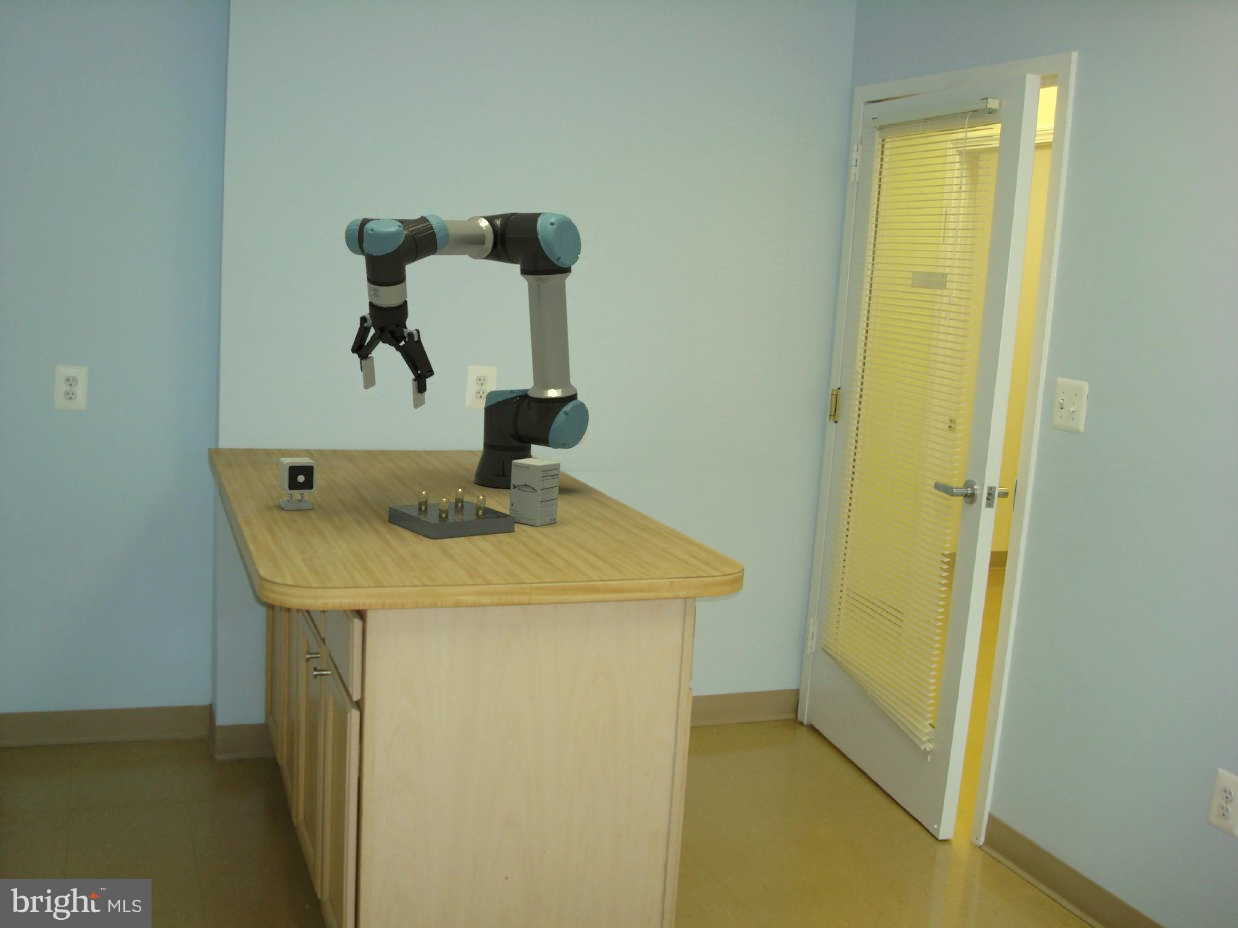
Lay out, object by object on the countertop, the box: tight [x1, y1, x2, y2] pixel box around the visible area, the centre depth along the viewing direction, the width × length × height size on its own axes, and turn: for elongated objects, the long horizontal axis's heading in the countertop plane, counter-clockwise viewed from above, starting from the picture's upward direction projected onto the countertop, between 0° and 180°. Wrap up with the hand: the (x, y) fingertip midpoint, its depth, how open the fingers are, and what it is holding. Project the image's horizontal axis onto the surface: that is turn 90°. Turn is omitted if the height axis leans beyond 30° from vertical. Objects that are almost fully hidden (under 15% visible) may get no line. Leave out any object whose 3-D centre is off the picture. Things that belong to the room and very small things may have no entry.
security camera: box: [278, 457, 318, 511], centre depth 236 cm, size 6×7×10 cm
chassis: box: [387, 487, 516, 540], centre depth 227 cm, size 18×18×6 cm
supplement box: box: [508, 457, 561, 527], centre depth 236 cm, size 7×7×13 cm
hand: (394, 396), depth 237 cm, fingers open, 13 cm apart
